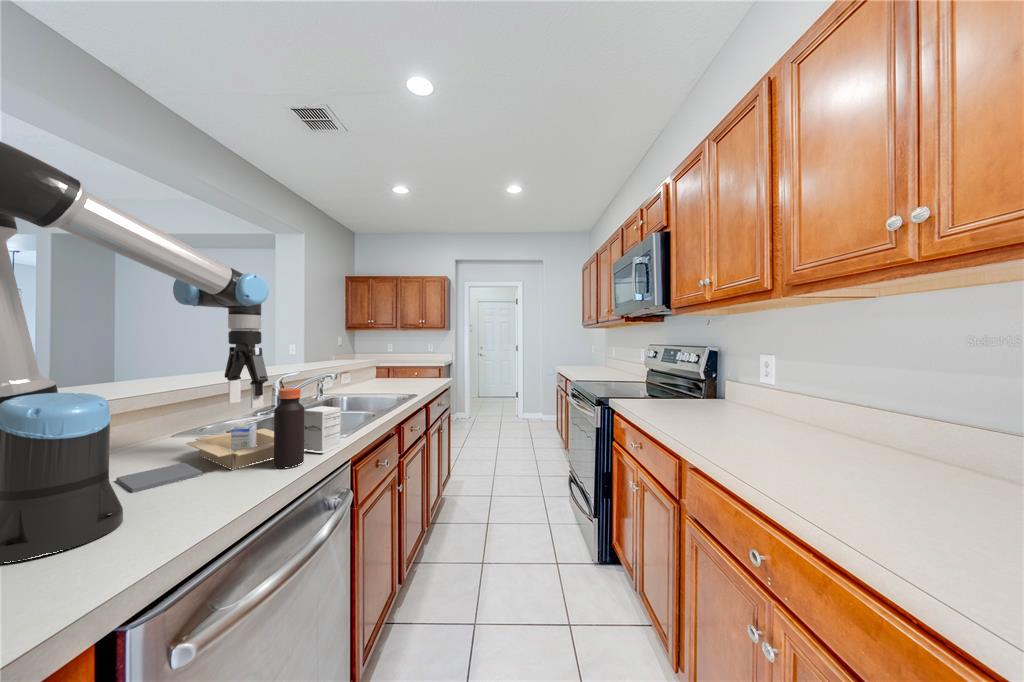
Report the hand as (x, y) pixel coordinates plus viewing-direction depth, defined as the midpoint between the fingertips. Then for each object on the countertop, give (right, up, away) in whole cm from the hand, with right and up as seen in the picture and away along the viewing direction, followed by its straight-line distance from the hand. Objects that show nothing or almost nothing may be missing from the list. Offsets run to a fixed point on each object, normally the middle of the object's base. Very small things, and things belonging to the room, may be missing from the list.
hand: (245, 405), depth 102 cm
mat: (-8, -14, -17) cm, 23 cm away
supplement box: (+19, -15, +6) cm, 25 cm away
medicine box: (0, -15, 0) cm, 15 cm away
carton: (0, -14, 0) cm, 14 cm away
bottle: (+17, -15, -7) cm, 23 cm away
